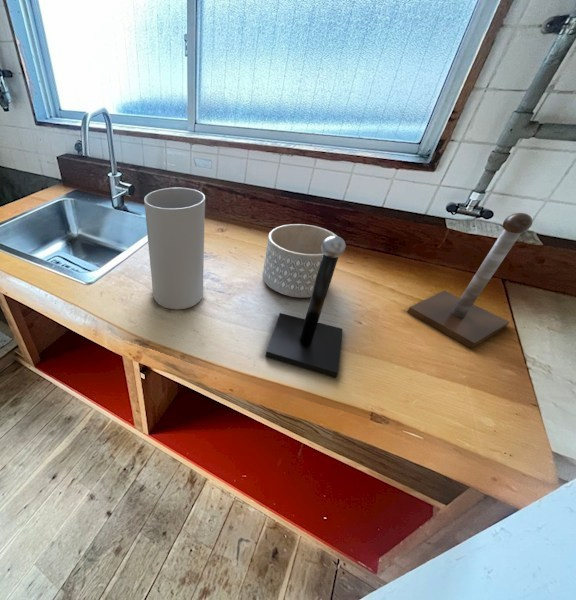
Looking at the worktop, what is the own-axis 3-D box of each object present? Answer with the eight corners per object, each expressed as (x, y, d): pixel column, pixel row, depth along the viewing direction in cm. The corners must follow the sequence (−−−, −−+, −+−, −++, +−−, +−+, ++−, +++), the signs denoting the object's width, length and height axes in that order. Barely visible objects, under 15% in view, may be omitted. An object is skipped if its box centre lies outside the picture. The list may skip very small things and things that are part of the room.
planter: (249, 282, 84) (254, 238, 77) (285, 260, 93) (293, 218, 85) (305, 310, 74) (318, 263, 67) (340, 283, 83) (355, 238, 75)
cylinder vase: (212, 299, 79) (217, 200, 64) (168, 317, 74) (162, 214, 59) (185, 276, 88) (184, 184, 72) (144, 291, 83) (134, 195, 68)
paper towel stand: (440, 294, 77) (495, 334, 70) (405, 311, 73) (460, 355, 66) (534, 202, 59) (622, 243, 51) (495, 216, 54) (585, 264, 47)
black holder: (337, 378, 59) (266, 366, 65) (342, 333, 68) (279, 327, 74) (343, 255, 46) (253, 255, 52) (348, 220, 55) (271, 224, 61)
